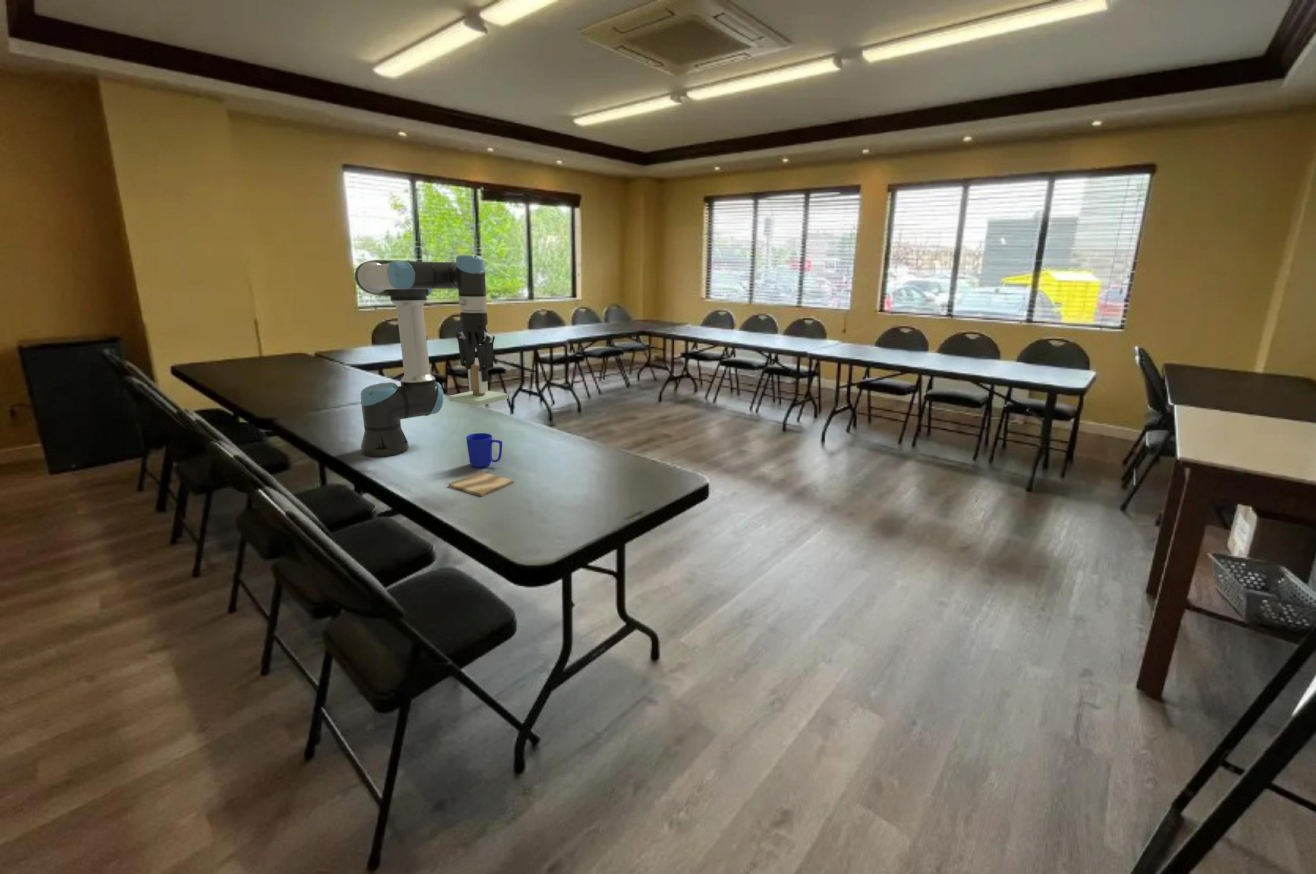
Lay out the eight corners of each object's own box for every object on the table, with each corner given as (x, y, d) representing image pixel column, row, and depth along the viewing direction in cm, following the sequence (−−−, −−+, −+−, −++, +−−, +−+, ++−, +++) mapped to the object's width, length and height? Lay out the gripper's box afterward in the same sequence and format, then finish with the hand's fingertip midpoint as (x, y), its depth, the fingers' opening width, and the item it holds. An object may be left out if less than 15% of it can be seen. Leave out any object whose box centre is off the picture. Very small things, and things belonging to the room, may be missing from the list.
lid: (449, 400, 170) (446, 365, 167) (479, 393, 180) (477, 360, 177) (478, 406, 164) (476, 369, 161) (508, 398, 174) (506, 364, 172)
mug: (497, 471, 187) (495, 442, 184) (463, 467, 189) (461, 438, 186) (508, 463, 195) (507, 435, 192) (475, 459, 197) (474, 432, 194)
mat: (448, 486, 173) (448, 483, 173) (481, 473, 184) (481, 471, 184) (481, 496, 167) (481, 493, 167) (513, 482, 178) (513, 480, 177)
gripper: (443, 310, 165) (449, 390, 172) (484, 313, 158) (489, 396, 165) (462, 309, 172) (468, 386, 178) (504, 312, 164) (508, 392, 171)
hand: (478, 391), depth 171 cm, fingers closed on lid, 3 cm apart
